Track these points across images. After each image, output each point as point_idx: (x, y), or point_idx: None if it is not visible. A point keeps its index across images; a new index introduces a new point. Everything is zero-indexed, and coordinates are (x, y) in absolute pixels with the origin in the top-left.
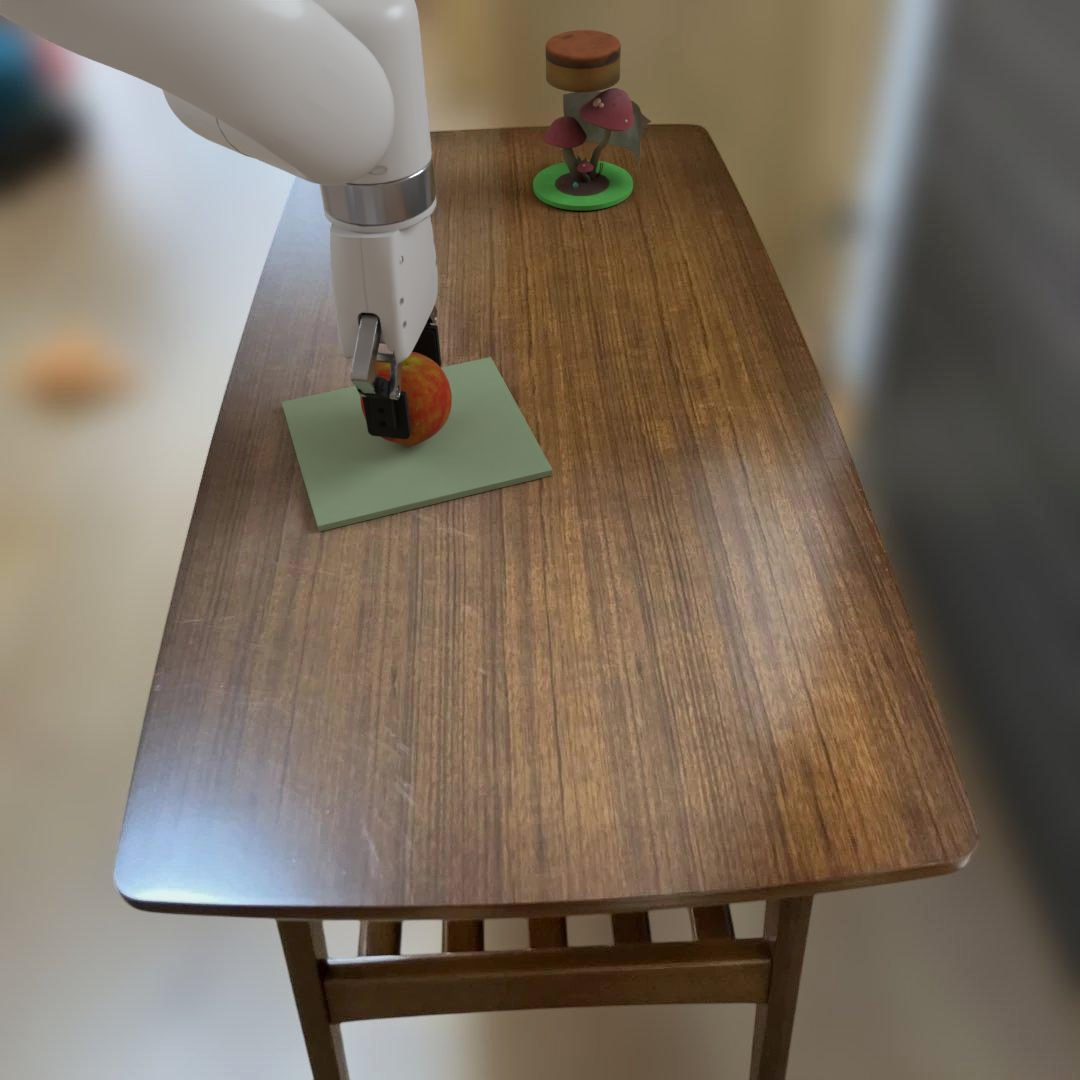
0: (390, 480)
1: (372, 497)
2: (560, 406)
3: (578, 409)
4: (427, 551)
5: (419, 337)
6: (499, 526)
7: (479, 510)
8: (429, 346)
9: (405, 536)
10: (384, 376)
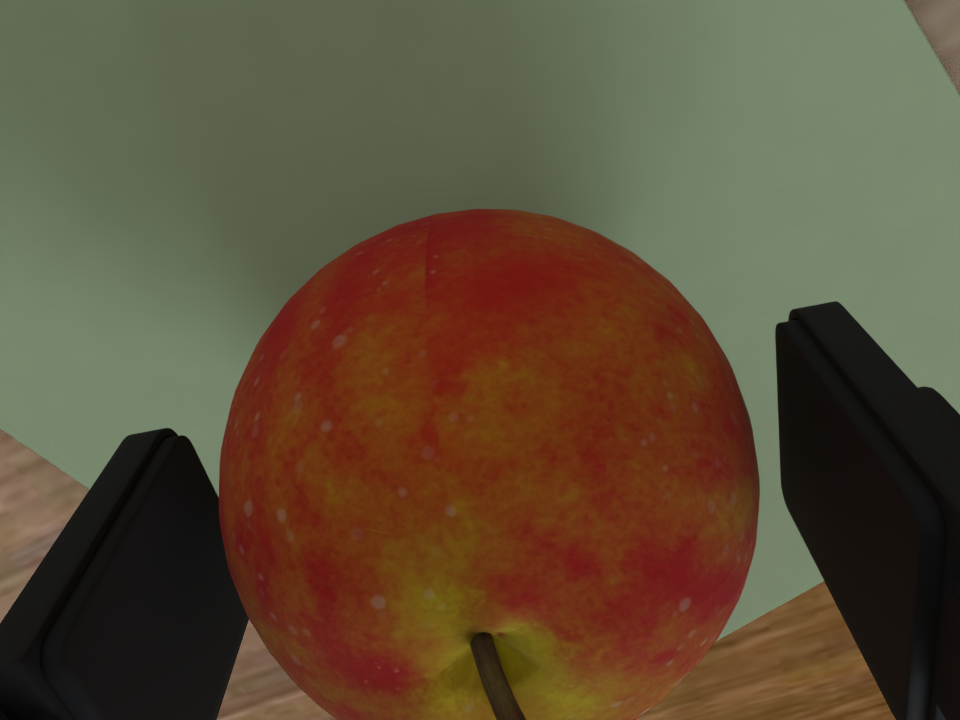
0: (189, 399)
1: (62, 387)
2: (839, 667)
3: (832, 708)
4: (14, 601)
5: (878, 607)
6: (228, 706)
7: (257, 648)
8: (847, 601)
9: (20, 527)
10: (321, 614)
